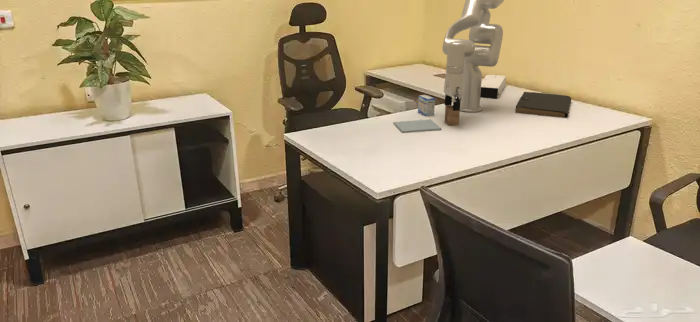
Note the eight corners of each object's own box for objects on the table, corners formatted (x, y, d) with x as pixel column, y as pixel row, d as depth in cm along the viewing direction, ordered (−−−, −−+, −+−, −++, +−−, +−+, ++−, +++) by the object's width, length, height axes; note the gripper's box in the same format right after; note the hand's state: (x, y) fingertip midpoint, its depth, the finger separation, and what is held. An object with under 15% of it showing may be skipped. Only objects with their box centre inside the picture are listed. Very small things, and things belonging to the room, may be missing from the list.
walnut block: (444, 122, 246) (445, 105, 243) (454, 121, 247) (455, 105, 244) (448, 125, 241) (449, 108, 239) (458, 124, 242) (459, 107, 240)
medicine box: (417, 112, 262) (418, 95, 259) (425, 111, 264) (425, 94, 261) (426, 116, 255) (427, 99, 252) (434, 115, 257) (435, 97, 254)
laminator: (485, 84, 318) (486, 74, 316) (507, 86, 314) (508, 75, 312) (475, 97, 289) (476, 86, 287) (499, 99, 285) (500, 88, 282)
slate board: (393, 123, 245) (393, 122, 245) (430, 121, 248) (430, 119, 248) (402, 132, 232) (402, 131, 232) (441, 130, 235) (441, 128, 235)
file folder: (523, 90, 287) (571, 95, 278) (523, 98, 288) (570, 103, 279) (515, 105, 259) (568, 111, 250) (514, 113, 260) (566, 120, 251)
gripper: (439, 67, 242) (437, 103, 248) (454, 73, 226) (451, 112, 232) (455, 66, 244) (452, 103, 250) (470, 73, 228) (467, 112, 234)
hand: (452, 107), depth 241 cm, fingers open, 9 cm apart
